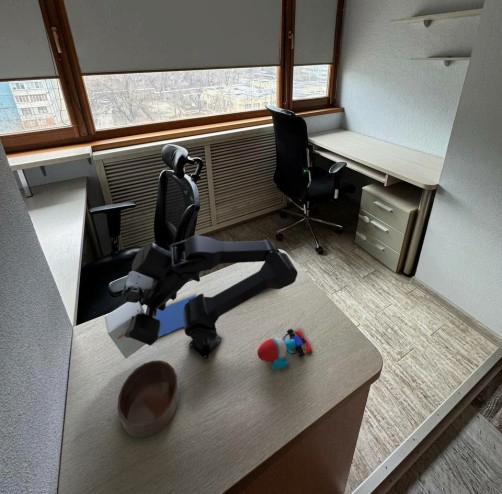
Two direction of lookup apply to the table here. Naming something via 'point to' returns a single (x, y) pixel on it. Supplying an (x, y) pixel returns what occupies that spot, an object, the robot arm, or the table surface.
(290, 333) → the toy figure
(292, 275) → the robot arm
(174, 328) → the cloth
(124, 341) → the small box
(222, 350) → the table surface
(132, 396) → the bowl
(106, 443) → the table surface
